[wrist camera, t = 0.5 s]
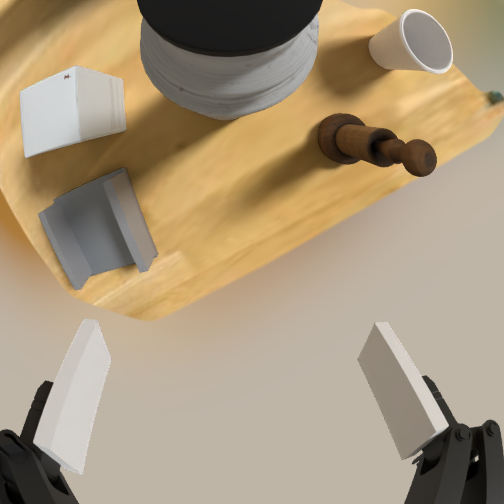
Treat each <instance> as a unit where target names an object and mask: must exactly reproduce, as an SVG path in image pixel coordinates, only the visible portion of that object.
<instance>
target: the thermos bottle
mask: <svg viewBox="0 0 504 504" xmlns="http://www.w3.org/2000/svg"><path fill="white" fill-rule="evenodd" d="M322 1H323V0H137V3H138V6H139V9H140V12H141V14H142V16H143V19H142V23H141V40H140V51H141V60H142V63H143V66H144V69H145V72H146V74H147V75H148V77H149V78H150V80H151V82H152V83H153V85H154V86H155V87H156V88H157V89H158V90H159V91H160V92H161V93H162V94H163V95H164V96H165V97H167V98H168V99H170V100H171V101H173V102H174V103H176V104H177V105H179V106H181V107H184V108H186V109H189V110H191V111H194V112H196V113H199V114H202V115H205V116H207V117H210V118H213V119H217V120H226V121H227V120H234V119H237V118H240V117H243V116H246V115H249V114H252V113H255V112H259V111H262V110H265V109H267V108H269V107H271V106H273V105H275V104H277V103H279V102H281V101H282V100H284V99H285V98H287V97H288V96H289V95H291V94H292V93H293V92H295V90H296V89H297V88H298V87H299V86H300V85H301V84H302V83H303V82H304V81H305V79H306V77H307V76H308V74H309V72H310V71H311V69H312V67H313V64H314V61H315V58H316V55H317V45H318V31H319V20H318V14H317V13H318V11H319V10H320V7H321V4H322Z"/></svg>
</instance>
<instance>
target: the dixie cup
mask: <svg viewBox="0 0 504 504" xmlns="http://www.w3.org/2000/svg"><path fill="white" fill-rule="evenodd" d="M369 52H370V55H371V57H372V58H373V60H374V61H375V62H376V63H377V64H378V65H379V66H381V67H383V68H385V69H390V70H416V71H428V72H430V73H434V74H441V73H444V72H446V71H447V70H448V69H449V68H450V66H451V64H452V59H453V52H452V46H451V42H450V40H449V37H448V35H447V33H446V32H445V30H444V29H443V27H442V26H441V25H440V24H439V23H438V22H437V21H436V20H435V19H434V18H433V17H432V16H431V15H429V14H427V13H426V12H424V11H421V10H416V9H411V10H407V11H405V12H404V13H403V14H402V15H401V17H399V18H398V19H397V20H395V21H394V22H392V23H391V24H389V25H388V26H387V27H385V28H384V29H382V30H381V31H380V32H378V33H377V34H376V35H374V36H373V37H372V38H371V39H370V41H369Z"/></svg>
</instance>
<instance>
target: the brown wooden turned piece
mask: <svg viewBox="0 0 504 504" xmlns="http://www.w3.org/2000/svg"><path fill="white" fill-rule="evenodd" d="M318 141H319V145H320V148H321V150H322V151H323V153H324V154H325V155H326V156H327V157H328V158H330V159H331V160H333V161H335V162H338V163H341V164H347V165H348V164H354V163H356V162H358V161H360V160H364V161H366V162H369V163H372V164H374V165H377V166H379V167H389V166H391V165H393V164H394V163H395V164H400V163H403V165H404V167H405V169H406V170H407V171H408V172H409V173H410V174H412V175H414V176H418V177H424V176H427V175H429V174H431V173H432V172H433V170H434V169H435V167H436V163H437V157H436V153H435V151H434V149H433V148H432V146H431V145H430V144H428V143H427V142H425V141H423V140H419V139H415V140H411V141H409V142H408V143H406V144H405V143H404V142H403V141H402V140H400V139H398V138H397V136H396V135H395V134H394V133H393V132H392V131H390V130H388V129H384V128H376V127H367V126H365V124H364V123H363V122H362V121H361V120H360V119H359V118H357V117H356V116H354V115H351V114H342V113H338V114H333V115H331V116H329V117H327V118H326V119H325V120H324V121H323V122H322V124H321V126H320V129H319V133H318Z"/></svg>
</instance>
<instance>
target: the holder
mask: <svg viewBox="0 0 504 504" xmlns="http://www.w3.org/2000/svg"><path fill="white" fill-rule="evenodd" d="M53 201H54V204H52V205H51V206H49V207H48V208H46V209H45V210H43V211H42V212H40V213H39V214H38V215H39V218H40V220H41V222H42V225H43V227H44V229H45V232H46V234H47V236H48V238H49V240H50V243H51V245H52V247H53V249H54V251H55V253H56V255H57V257H58V259H59V261H60V263H61V265H62V267H63V269H64V271H65V273H66V275H67V276H68V278H69V280H70V282H71V284H72V285H73V287H74V289H75V290H79V289H82V287H83V286H84V284H85V283H86V281H87V280H88V278H89V277H90V276H93V275H96V274H100V273H103V272H106V271H110V270H113V269H117V268H120V267H124V266H127V265H131V264H134V263H136V265H137V268H138V270H139V272H140V273H141V272H145V271H148V270H149V268H150V266H151V263H152V261H153V259H154V258H155V257H157V256H158V252H157V249H156V247H155V244H154V242H153V240H152V237H151V235H150V232H149V230H148V227H147V225H146V222H145V219H144V217H143V214H142V212H141V209H140V206H139V204H138V201H137V198H136V195H135V193H134V190H133V187H132V184H131V181H130V178H129V175H128V173H127V170H126V167H124V168H121V169H119V170H116V171H114V172H111V173H109V174H107V175H104V176H102V177H100V178H97V179H95V180H93V181H91V182H88V183H86V184H84V185H82V186H80V187H78V188H76V189H74V190H71V191H69V192H67V193H65V194H63V195H61V196H59V197H57V198H56V199H54V200H53Z"/></svg>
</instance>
